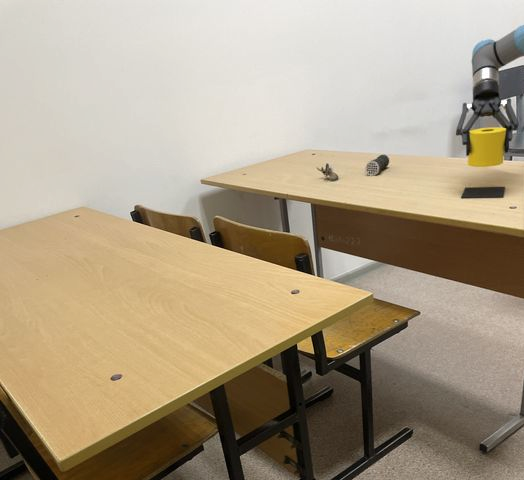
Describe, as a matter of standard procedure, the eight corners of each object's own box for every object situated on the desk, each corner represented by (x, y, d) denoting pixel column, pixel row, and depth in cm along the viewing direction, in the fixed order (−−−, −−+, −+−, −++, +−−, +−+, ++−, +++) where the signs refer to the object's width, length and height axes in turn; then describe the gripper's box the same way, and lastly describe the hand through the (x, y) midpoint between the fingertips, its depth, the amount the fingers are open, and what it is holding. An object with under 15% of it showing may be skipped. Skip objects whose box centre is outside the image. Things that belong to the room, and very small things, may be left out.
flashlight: (377, 167, 219) (377, 153, 217) (390, 167, 217) (390, 153, 214) (365, 175, 208) (365, 161, 205) (378, 175, 205) (378, 161, 203)
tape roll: (485, 158, 167) (488, 126, 163) (510, 162, 159) (513, 128, 155) (460, 164, 165) (462, 132, 160) (484, 168, 156) (487, 134, 152)
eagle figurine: (312, 177, 212) (322, 176, 204) (319, 159, 211) (328, 158, 203) (328, 184, 215) (338, 183, 207) (334, 167, 214) (345, 166, 206)
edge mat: (505, 187, 168) (505, 186, 168) (503, 197, 159) (503, 196, 159) (465, 188, 173) (465, 187, 173) (460, 198, 164) (461, 197, 164)
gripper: (523, 93, 163) (526, 155, 158) (446, 101, 169) (446, 162, 164) (528, 74, 156) (531, 140, 151) (447, 84, 162) (448, 147, 157)
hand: (487, 151), depth 157 cm, fingers closed on tape roll, 10 cm apart
